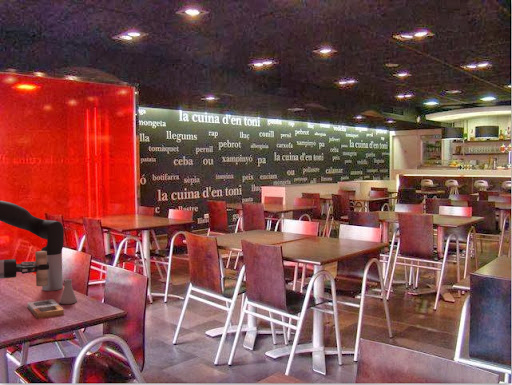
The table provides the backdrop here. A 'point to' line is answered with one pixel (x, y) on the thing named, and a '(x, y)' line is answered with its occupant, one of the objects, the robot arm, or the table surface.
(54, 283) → the robot arm
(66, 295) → the flask
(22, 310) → the table surface
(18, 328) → the table surface
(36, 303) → the flat wooden frame
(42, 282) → the wooden peg
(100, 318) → the table surface
